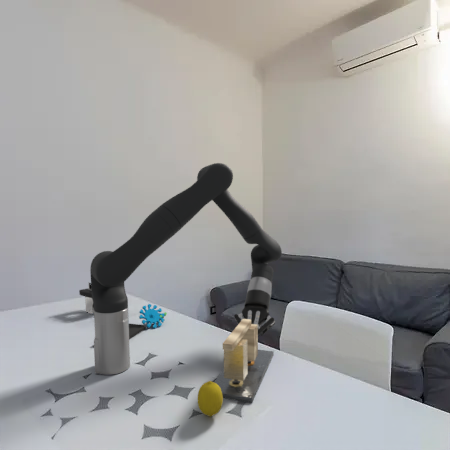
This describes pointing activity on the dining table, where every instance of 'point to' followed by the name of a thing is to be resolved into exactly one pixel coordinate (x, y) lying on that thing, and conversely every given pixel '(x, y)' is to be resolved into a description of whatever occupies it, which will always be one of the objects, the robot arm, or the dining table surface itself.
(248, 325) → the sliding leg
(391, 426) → the dining table surface
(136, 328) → the smart home device
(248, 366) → the bolt plate
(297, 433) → the dining table surface
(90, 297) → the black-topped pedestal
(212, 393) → the lemon
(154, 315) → the blue knobbed spoke wheel
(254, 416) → the dining table surface
